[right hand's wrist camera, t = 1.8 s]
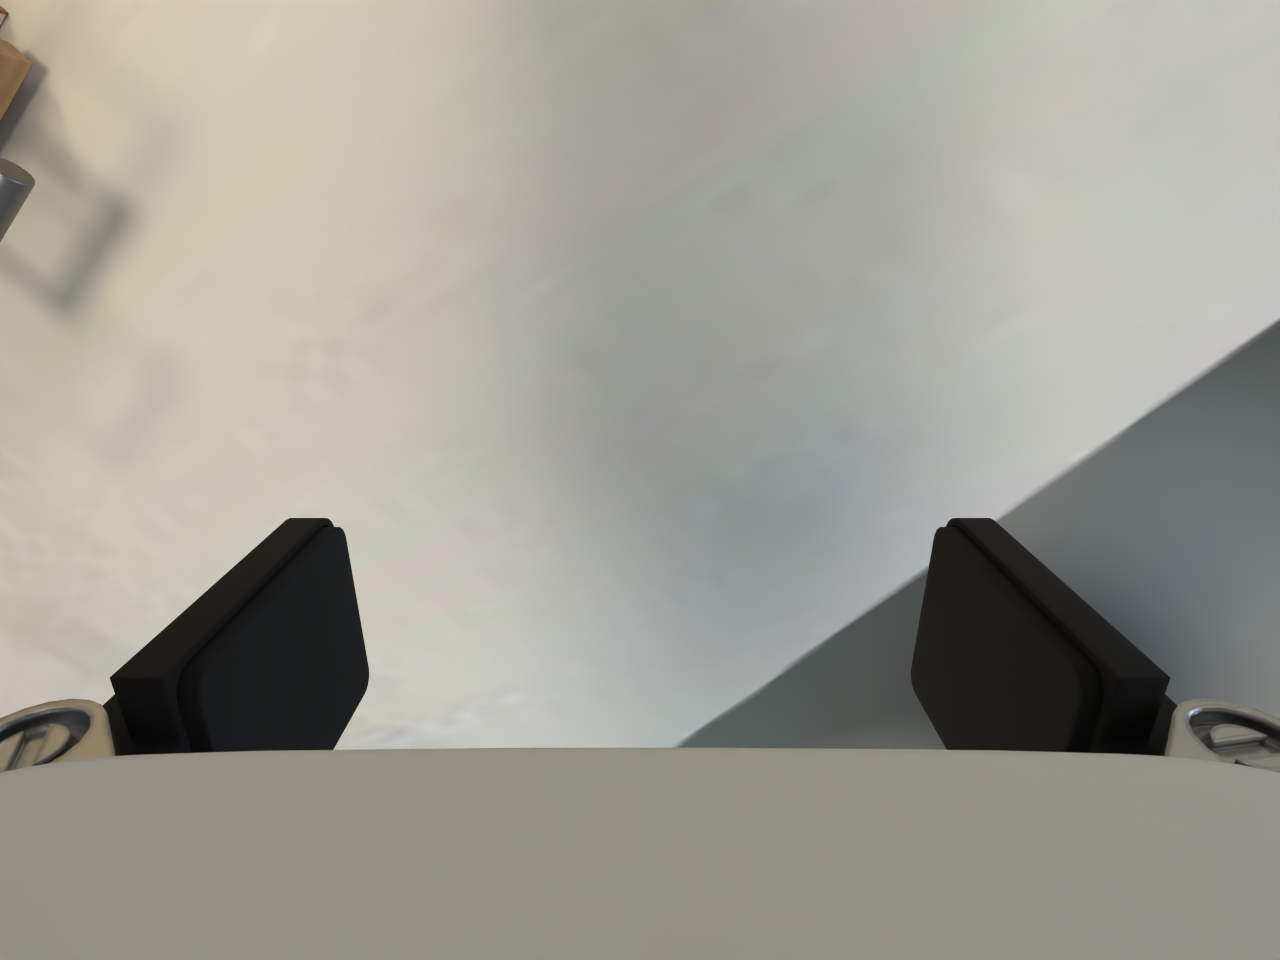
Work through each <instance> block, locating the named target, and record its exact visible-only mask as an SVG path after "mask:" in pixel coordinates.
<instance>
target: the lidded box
mask: <svg viewBox="0 0 1280 960" xmlns="http://www.w3.org/2000/svg"><path fill="white" fill-rule="evenodd" d="M6 15H8V12H6V11H5V10H4V9H3V8H2V7H1V6H0V25H1V23H2V21H3V19H4V17H5V16H6Z"/></svg>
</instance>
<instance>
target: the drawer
mask: <svg viewBox="0 0 1280 960" xmlns="http://www.w3.org/2000/svg"><path fill="white" fill-rule="evenodd" d="M31 66H32V62H31V61H30V60H29V59H28V58H26V57H25V56H24V55H23V54H22V53H21V52H19V51H18V50H17V49H16V48H15V47H14V46H12V45H11V44H10V43H9V42H7V41H4V40H0V120H1V119H2V117H3V115H4V113H5V112H6V110H7V108H8V106H9V105H10V103H11V101H12V99H13V97H14V96H15V94H16V92H17V90H18V89H19V87H20V85H21V83H22V82H23V80H24V78H25V76H26V74H27V73H28V71H29V69H30V67H31ZM34 185H35V181H34V179H33V177H32V176H31V175H30V174H29V173H28V172H27V171H25V170H24V169H22V168H21V167H19V166H18V165H16V164H14V163H12V162H10V161H7V160H5V159H1V158H0V242H1V240H2V238H3V237H4V235H5V233H6V232H7V230H8V228H9V227H10V225H11V223H12V222H13V220H14V218H15V217H16V215H17V213H18V212H19V210H20V208H21V207H22V205H23V203H24V202H25V200H26V198H27V197H28V195H29V193H30V192H31V190H32V188H33V187H34Z"/></svg>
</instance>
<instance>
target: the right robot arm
mask: <svg viewBox="0 0 1280 960" xmlns="http://www.w3.org/2000/svg"><path fill="white" fill-rule="evenodd" d="M110 680H111V683H112V686H113V689H114V692H115V695H114V696H113V697H111V698H110V699H109V700H108V701H107V702H106V703H105V704H104V705H103V706H102V705H101V704H98V703H96V702H93V701H91V700H83V699H66V700H59V701H51V702H47V703H43V704H39V705H36V706H32V707H28V708H25V709H22V710H20V711H17V712H15V713H12V714H10V715H7V716H5V717H2V718H0V960H1280V718H1278V717H1275V716H1273V715H1270V714H1268V713H1265V712H1263V711H1260V710H1258V709H1255V708H1252V707H1248V706H1244V705H1240V704H1237V703H1233V702H1229V701H1221V700H1214V699H1197V700H1189V701H1187V702H1184V703H1182V704H1179V705H1178V706H1177V705H1176V704H1175V703H1174V702H1173V701H1172V700H1171V699H1170V698H1169V697H1167V696H1166V695H1165V692H1166V689H1167V686H1168V683H1169V680H1170V677H1169V676H1168V675H1167V674H1166V673H1164V672H1163V671H1162V670H1161V669H1160V668H1159V667H1158V666H1157V665H1155V664H1154V663H1153V662H1152V661H1151V660H1150V659H1149V658H1148V657H1146V656H1145V655H1144V654H1143V653H1142V652H1141V651H1140V650H1139V649H1137V648H1136V647H1135V646H1134V645H1133V644H1132V643H1131V642H1130V641H1128V640H1127V639H1126V638H1125V637H1124V636H1123V635H1122V634H1121V633H1120V632H1118V631H1117V630H1116V629H1115V628H1114V627H1113V626H1112V625H1111V624H1109V623H1108V622H1107V621H1106V620H1105V619H1104V618H1103V617H1102V616H1101V615H1099V614H1098V613H1097V612H1096V611H1095V610H1094V609H1093V608H1092V607H1091V606H1089V605H1088V604H1087V603H1086V602H1085V601H1084V600H1083V599H1082V598H1080V597H1079V596H1078V595H1077V594H1076V593H1075V592H1074V591H1073V590H1071V589H1070V588H1069V587H1068V586H1067V585H1066V584H1065V583H1064V582H1063V581H1061V580H1060V579H1059V578H1058V577H1057V576H1056V575H1055V574H1053V573H1052V572H1051V571H1050V570H1049V569H1048V568H1047V567H1046V566H1045V565H1043V564H1042V563H1041V562H1040V561H1039V560H1038V559H1037V558H1036V557H1034V556H1033V555H1032V554H1031V553H1030V552H1029V551H1028V550H1027V549H1026V548H1024V547H1023V546H1022V545H1021V544H1020V543H1019V542H1018V541H1017V540H1015V539H1014V538H1013V537H1012V536H1011V535H1010V534H1009V533H1008V532H1007V531H1005V530H1004V529H1003V528H1002V527H1001V526H1000V525H999V524H998V523H996V522H995V521H994V520H992V519H991V518H952V519H951V520H950V521H949V522H948V524H947V525H946V527H940V528H938V529H937V531H936V533H935V536H934V541H933V547H932V553H931V558H930V564H929V570H928V576H927V581H926V587H925V593H924V598H923V604H922V610H921V616H920V621H919V627H918V633H917V639H916V644H915V650H914V656H913V662H912V667H911V680H912V686H913V689H914V692H915V694H916V696H917V698H918V699H919V701H920V703H921V705H922V706H923V708H924V710H925V712H926V714H927V715H928V717H929V719H930V721H931V722H932V724H933V726H934V728H935V730H936V731H937V733H938V735H939V737H940V738H941V740H942V742H943V744H944V745H945V747H946V749H947V750H901V749H788V748H468V749H378V750H333V749H334V747H335V746H336V744H337V742H338V740H339V738H340V737H341V735H342V733H343V731H344V730H345V728H346V726H347V724H348V722H349V721H350V719H351V717H352V715H353V714H354V712H355V710H356V708H357V706H358V705H359V703H360V701H361V699H362V698H363V696H364V694H365V692H366V689H367V686H368V680H369V667H368V662H367V656H366V650H365V644H364V639H363V633H362V627H361V621H360V616H359V610H358V604H357V598H356V593H355V587H354V581H353V576H352V570H351V564H350V558H349V553H348V547H347V541H346V536H345V533H344V531H343V529H342V528H340V527H334V525H333V524H332V522H331V521H330V520H329V519H328V518H289V519H288V520H286V521H285V522H284V523H282V524H281V525H280V526H279V527H278V528H277V529H276V530H275V531H273V532H272V533H271V534H270V535H269V536H268V537H267V538H266V539H265V540H263V541H262V542H261V543H260V544H259V545H258V546H257V547H256V548H254V549H253V550H252V551H251V552H250V553H249V554H248V555H247V556H245V557H244V558H243V559H242V560H241V561H240V562H239V563H238V564H237V565H235V566H234V567H233V568H232V569H231V570H230V571H229V572H228V573H226V574H225V575H224V576H223V577H222V578H221V579H220V580H219V581H217V582H216V583H215V584H214V585H213V586H212V587H211V588H210V589H209V590H207V591H206V592H205V593H204V594H203V595H202V596H201V597H200V598H198V599H197V600H196V601H195V602H194V603H193V604H192V605H191V606H189V607H188V608H187V609H186V610H185V611H184V612H183V613H182V614H181V615H179V616H178V617H177V618H176V619H175V620H174V621H173V622H172V623H170V624H169V625H168V626H167V627H166V628H165V629H164V630H163V631H161V632H160V633H159V634H158V635H157V636H156V637H155V638H154V639H153V640H151V641H150V642H149V643H148V644H147V645H146V646H145V647H144V648H142V649H141V650H140V651H139V652H138V653H137V654H136V655H135V656H134V657H132V658H131V659H130V660H129V661H128V662H127V663H126V664H125V665H123V666H122V667H121V668H120V669H119V670H118V671H117V672H116V673H114V674H113V675H112V676H111V677H110Z"/></svg>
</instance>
